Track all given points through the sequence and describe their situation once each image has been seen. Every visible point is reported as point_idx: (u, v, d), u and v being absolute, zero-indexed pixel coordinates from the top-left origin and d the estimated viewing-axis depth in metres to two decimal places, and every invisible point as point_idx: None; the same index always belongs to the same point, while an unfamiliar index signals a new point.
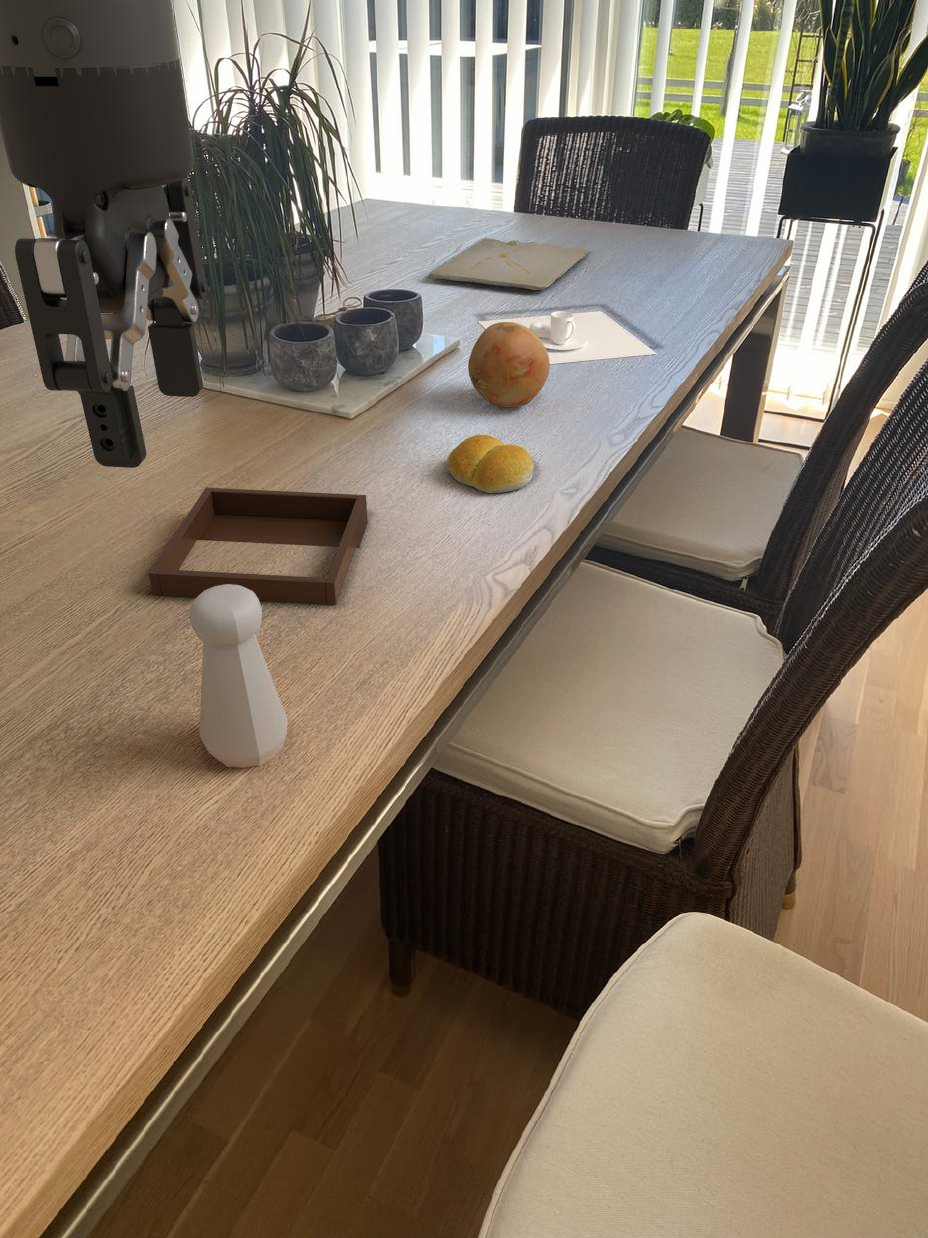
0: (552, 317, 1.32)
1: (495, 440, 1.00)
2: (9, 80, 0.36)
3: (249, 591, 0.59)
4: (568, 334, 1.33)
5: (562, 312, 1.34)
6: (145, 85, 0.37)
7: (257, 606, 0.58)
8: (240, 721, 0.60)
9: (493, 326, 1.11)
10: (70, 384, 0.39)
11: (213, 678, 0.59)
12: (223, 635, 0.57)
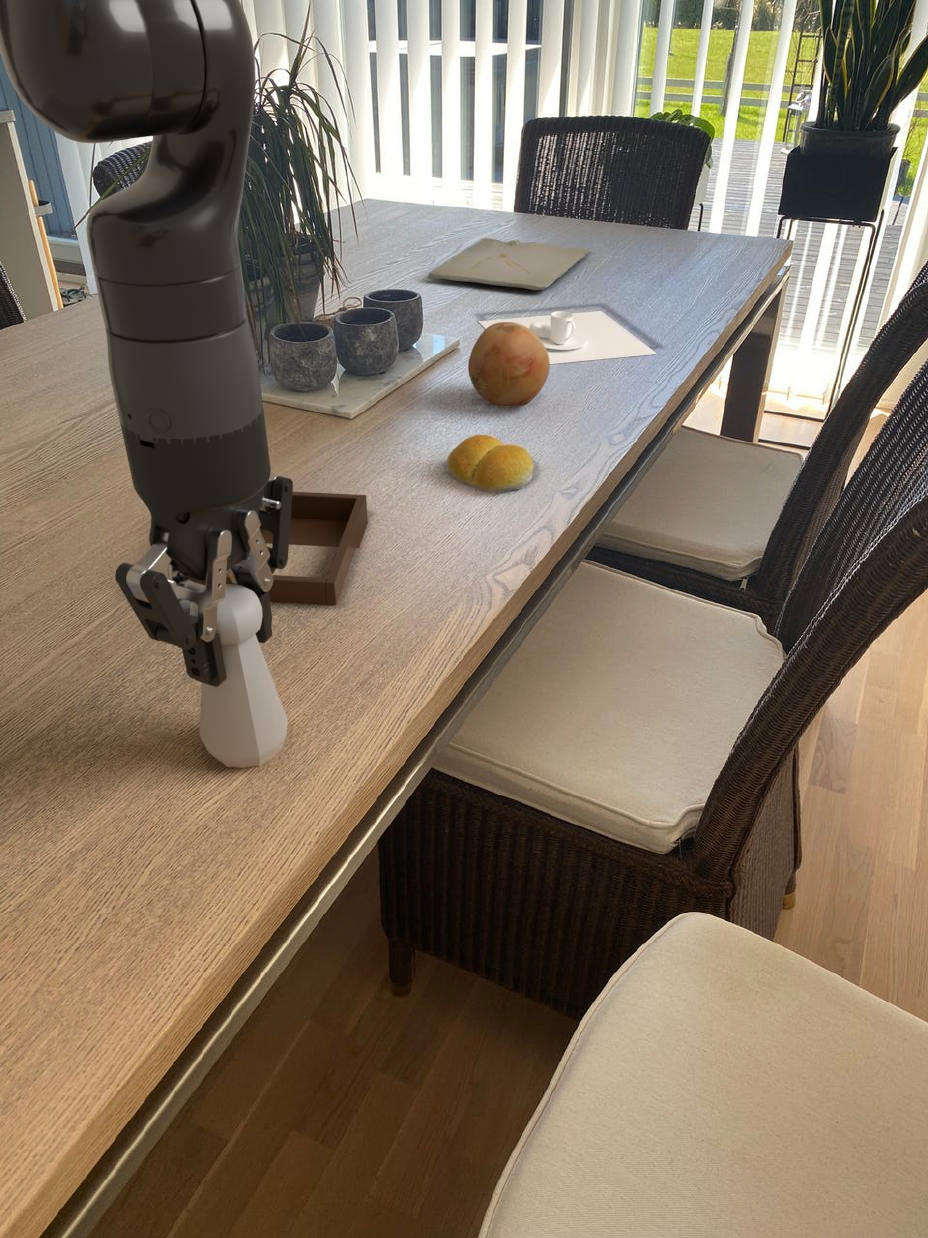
0: (552, 317, 1.32)
1: (495, 440, 1.00)
2: (127, 436, 0.49)
3: (250, 591, 0.59)
4: (568, 334, 1.33)
5: (562, 312, 1.34)
6: (219, 447, 0.49)
7: (257, 606, 0.58)
8: (240, 721, 0.60)
9: (493, 326, 1.11)
10: (164, 640, 0.54)
11: None
12: (224, 634, 0.57)
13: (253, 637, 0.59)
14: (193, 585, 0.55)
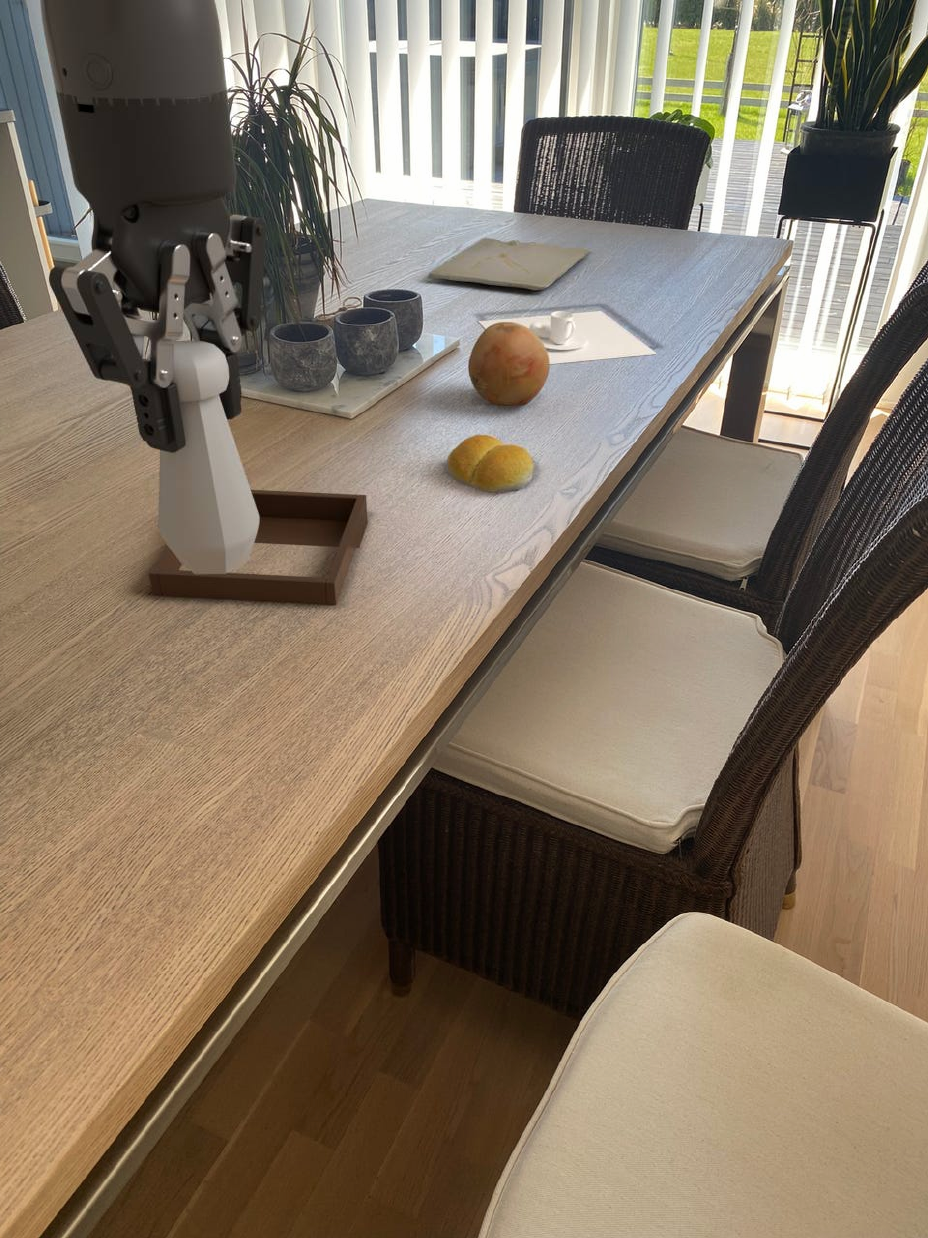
0: (552, 317, 1.32)
1: (495, 440, 1.00)
2: (63, 104, 0.41)
3: (214, 346, 0.51)
4: (568, 334, 1.33)
5: (562, 312, 1.34)
6: (171, 115, 0.41)
7: (223, 360, 0.50)
8: (203, 503, 0.53)
9: (493, 326, 1.11)
10: (110, 376, 0.46)
11: None
12: (182, 387, 0.49)
13: (218, 401, 0.52)
14: (145, 319, 0.47)
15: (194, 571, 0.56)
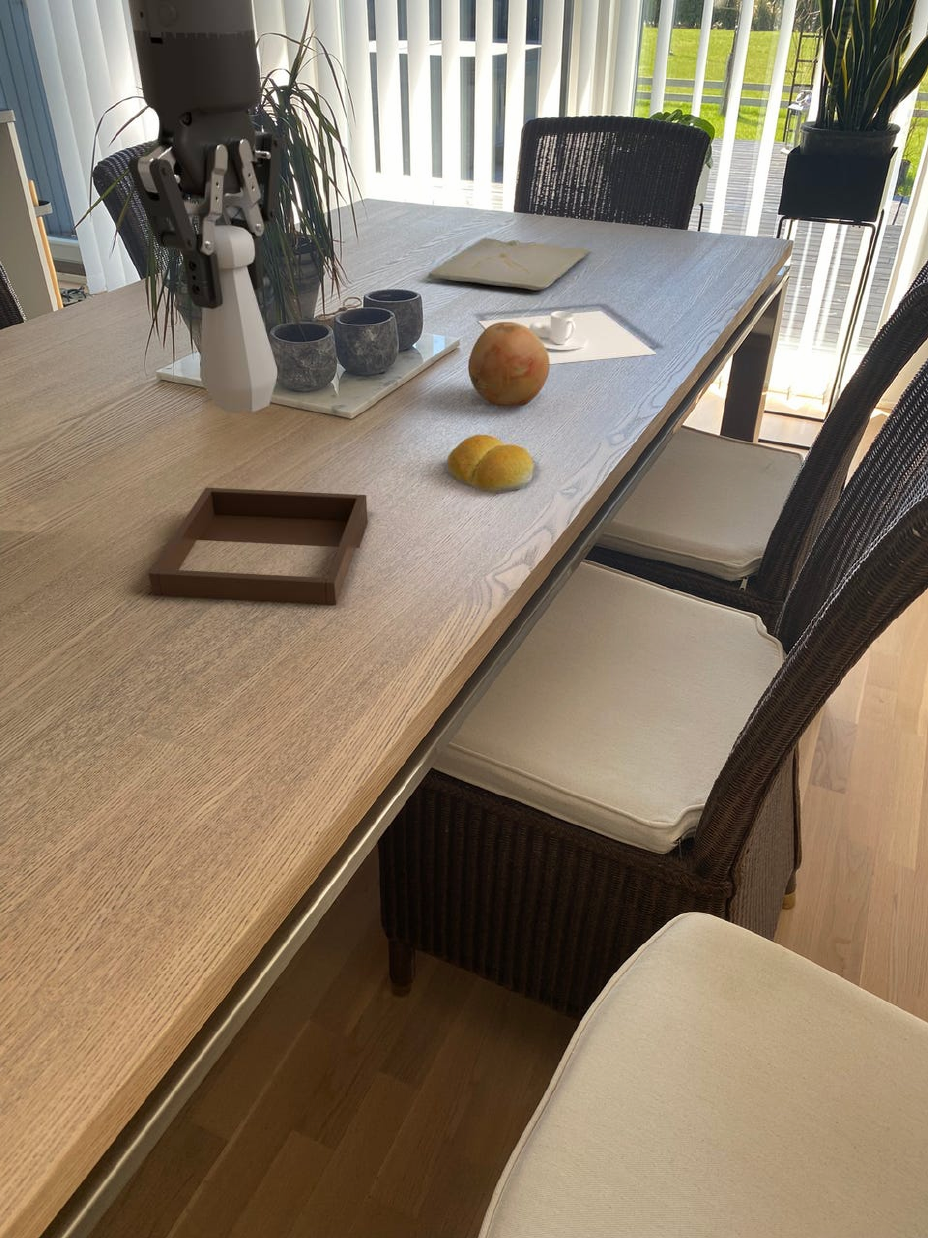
0: (552, 317, 1.32)
1: (495, 440, 1.00)
2: (139, 38, 0.58)
3: None
4: (568, 334, 1.33)
5: (562, 312, 1.34)
6: (216, 45, 0.58)
7: (250, 238, 0.67)
8: (235, 351, 0.70)
9: (493, 326, 1.11)
10: (169, 242, 0.63)
11: None
12: (221, 256, 0.66)
13: (246, 271, 0.68)
14: None
15: (228, 410, 0.73)
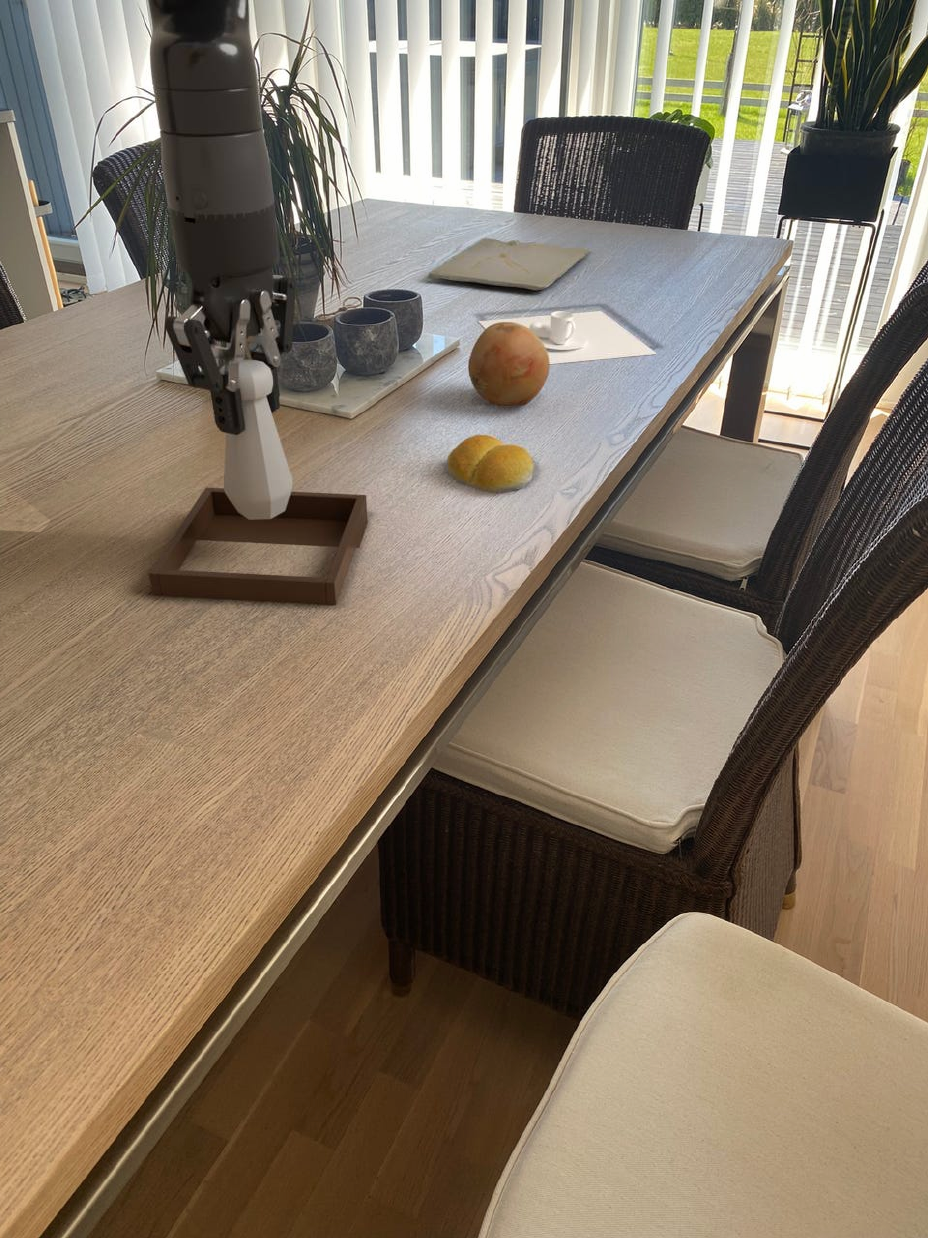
0: (552, 317, 1.32)
1: (495, 440, 1.00)
2: (174, 216, 0.67)
3: (263, 363, 0.76)
4: (568, 334, 1.33)
5: (562, 312, 1.34)
6: (242, 223, 0.66)
7: (269, 372, 0.76)
8: (256, 469, 0.78)
9: (493, 326, 1.11)
10: (200, 384, 0.71)
11: None
12: (244, 390, 0.74)
13: (266, 400, 0.77)
14: (220, 347, 0.73)
15: (249, 517, 0.81)
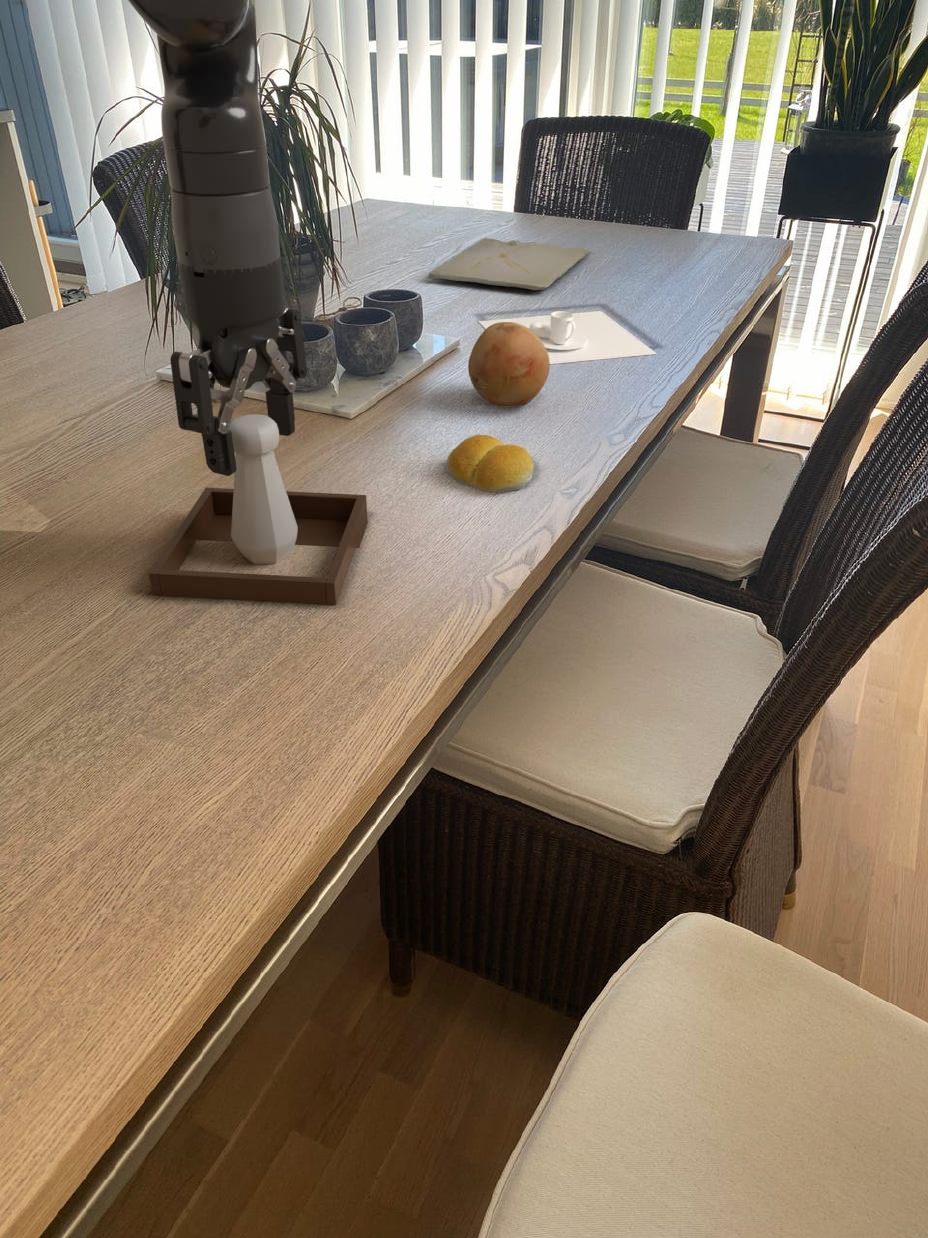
0: (552, 317, 1.32)
1: (495, 440, 1.00)
2: (184, 270, 0.69)
3: (269, 418, 0.79)
4: (568, 334, 1.33)
5: (562, 312, 1.34)
6: (249, 277, 0.68)
7: (276, 427, 0.78)
8: (262, 519, 0.81)
9: (493, 326, 1.11)
10: (191, 428, 0.72)
11: (243, 483, 0.80)
12: (251, 446, 0.77)
13: (272, 453, 0.79)
14: None
15: None
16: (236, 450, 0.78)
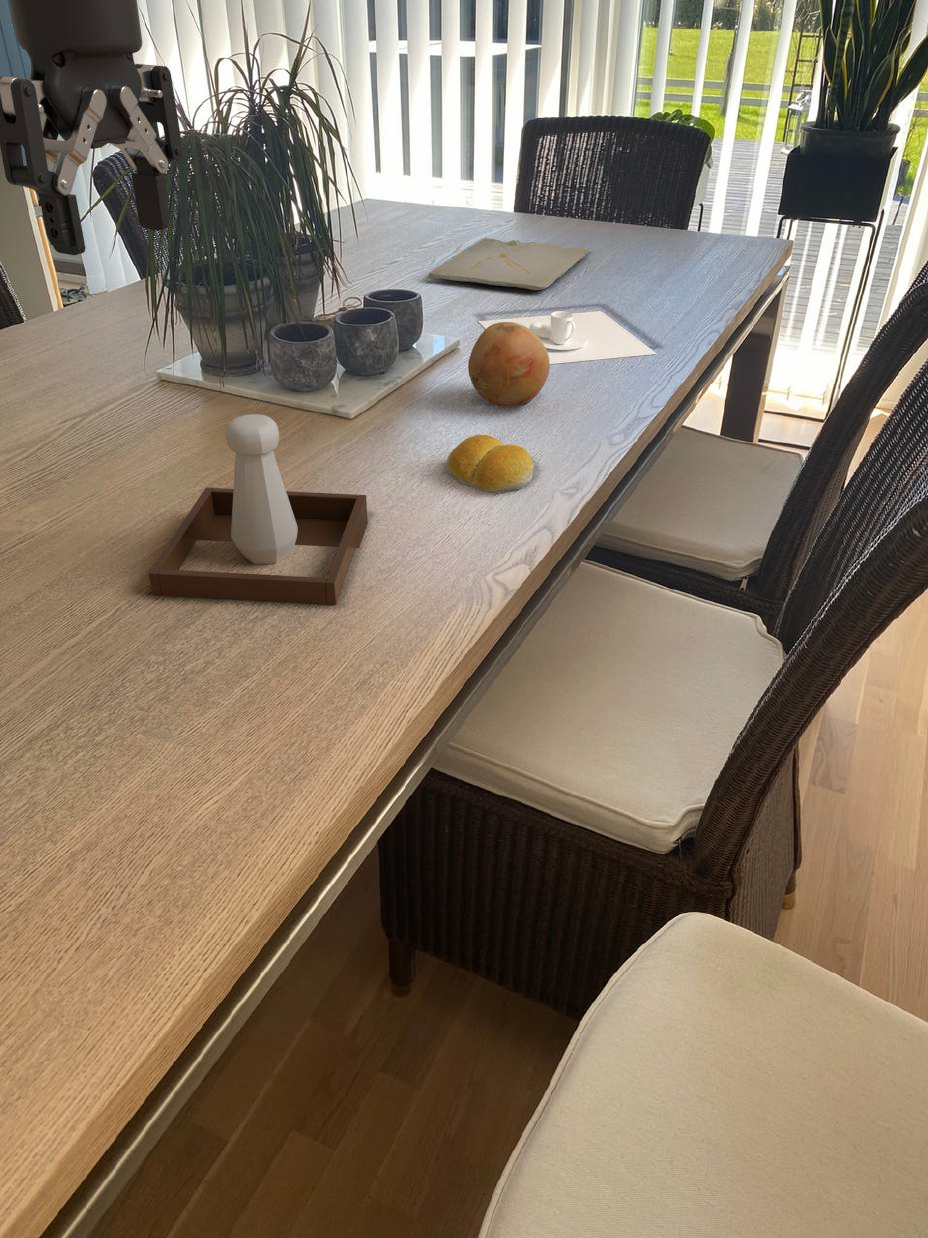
0: (552, 317, 1.32)
1: (495, 440, 1.00)
2: None
3: (269, 418, 0.79)
4: (568, 334, 1.33)
5: (562, 312, 1.34)
6: None
7: (275, 427, 0.78)
8: (262, 519, 0.81)
9: (493, 326, 1.11)
10: (20, 179, 0.59)
11: (243, 483, 0.80)
12: (251, 446, 0.77)
13: (272, 453, 0.79)
14: None
15: None
16: (236, 450, 0.78)
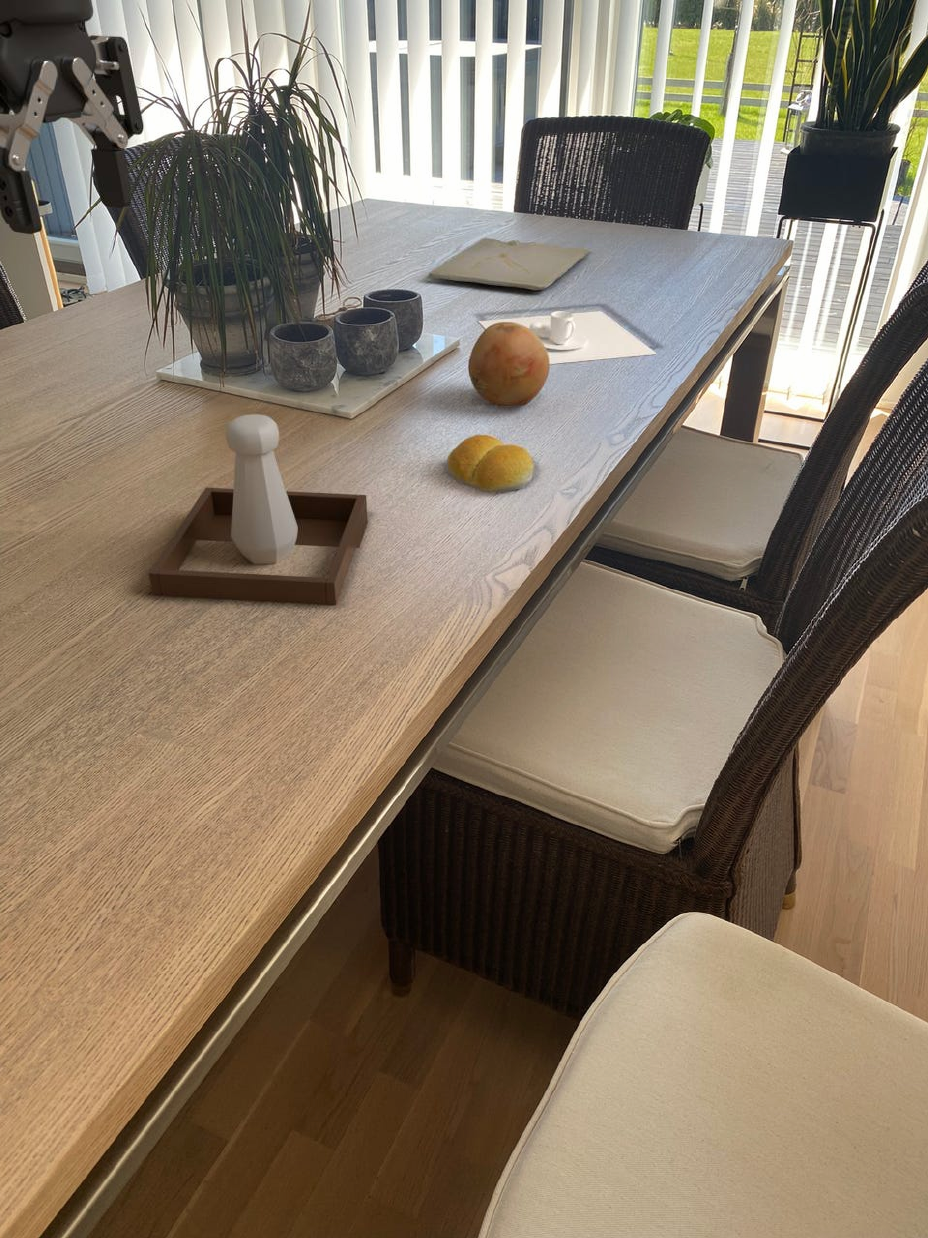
0: (552, 317, 1.32)
1: (495, 440, 1.00)
2: None
3: (269, 418, 0.79)
4: (568, 334, 1.33)
5: (562, 312, 1.34)
6: None
7: (275, 427, 0.78)
8: (262, 519, 0.81)
9: (493, 326, 1.11)
10: None
11: (243, 483, 0.80)
12: (251, 446, 0.77)
13: (272, 453, 0.79)
14: None
15: None
16: (236, 450, 0.78)
